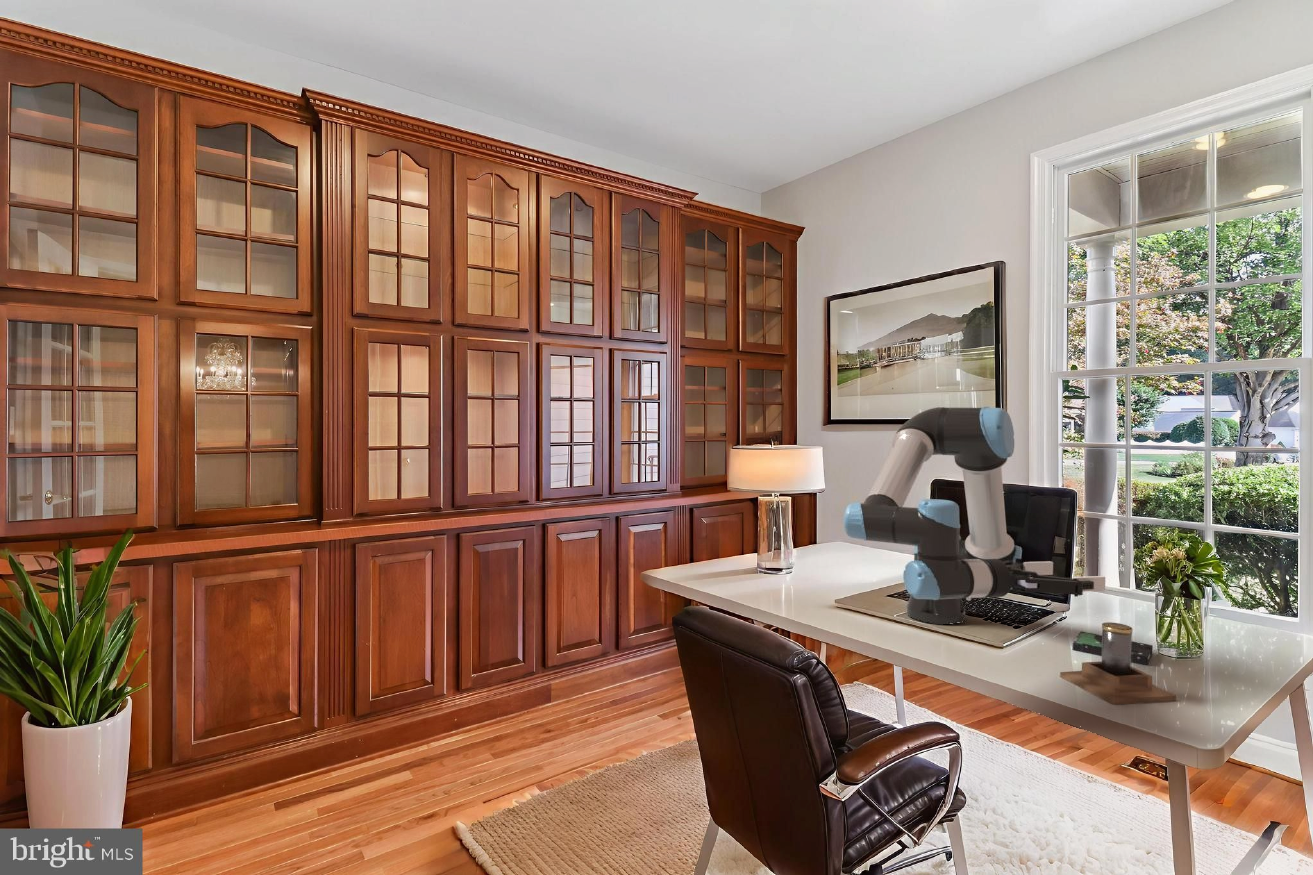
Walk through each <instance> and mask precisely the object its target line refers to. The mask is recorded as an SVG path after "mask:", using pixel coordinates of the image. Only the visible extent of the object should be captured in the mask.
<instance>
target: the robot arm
mask: <svg viewBox="0 0 1313 875" xmlns="http://www.w3.org/2000/svg"><path fill="white" fill-rule="evenodd" d="M1014 436H1015V432H1014V426H1013V422H1012V419H1011V416H1010V414H1009V412H1008V411H1007V410H1005V409H1004V408H1001V407H990V406H983V407H932V408H929V409H926V410H924V411H921V412H919V413H917V414H916V415H914V416H912V417H911V418H910V419H907V421H905V422H904V423H903V424H902V425H901V426H900V427H899V428H898V430H897V431H896V433H895V434H894V436H893V438H892V442H891V446H892V450H891V451H890V454H889V455H888V457H887V458H886V461H885V463H884V465H883V467H882V468H881V469H880V472H879V473H878V475H877V478H876V479H875V481H874V484H873V485H872V487H871V489H870V492H868V495H867V497H866V498H865V500H864V502H863V503H861V501H860V502H851V503H849V504H848V505H847V507H845V508H846V509H845V511H844V515H843V527H844V530H845V531H844V532H845V533H846V535H847V536H848V537H850V538H852V539H857V540H863V541H869V542H877V543H887V544H889V543H890V544H899V545H906V546H914V551H913V557H914V560H911V561H909V562H908V563H906V565H905V567H904V568H905V570H903V572H902V574H903V578H902V579H903V583H904V588H905V589H906V591H907V593H908V594H909V596H910V597H909V599H908V602H907V604H906V615H907V614H908V615H909V616H910V617H909V616H908V615H907V616H908V617H909V618H911V617H912V618H911V619H913V618H914V619H913V620H916V619H917V620H916V621H919V620H921V621H920V622H922V621H923V622H924V623H927V622H929V623H928V624H934V625H943V624H950V623H957V622H962V621H963V620H965V621H966V609H965V606H964V604H963V600H962V599H966V601H971V600H972V598H975V599H977V598H1002V597H1005V596H1006V595H1008V594H1009V593H1010V591H1011V590H1013V589H1014V590H1018V591H1019V590H1020V591H1021V590H1024V592H1027V593H1045V594H1046V593H1048V594H1060V595H1061V594H1062V595H1073V596H1074V597H1079V596H1083V595H1084V594H1083V593H1084V592H1105V591H1106V576H1105V575H1104V576H1103V575H1098V576H1097V575H1094V576H1072V578H1071V577H1062V576H1052V575H1054V562H1053V561H1050V560H1048V561H1047V560H1046V561H1025V562H1023V559H1022V553H1023V549H1022V547H1021V546H1018V545H1015V540H1014V539H1013V538H1012V537H1011V535H1009V534H1008V533H1007V522H1006V521H1007V520H1006V509H1005V498H1004V496H1005V495H1004V486H1003V485H1004V484H1003V473H1002V472H1003V471H1002V467H1003V466H1004V465H1005V464H1006V463H1007V461H1008V458H1010V457H1012V456H1013V454H1014V451H1015V437H1014ZM935 455H936V456H937V455H938V456H939V455H940V456H941V455H942V456H953V457H954V462H955V465H956V466H957V467H958V468H960V470H961V469H962V476H963V485H964V493H965V501H966V503H965V504H966V511H967V519H968V530H969V535H968V536H967V537H966V539H965V540H962V537H961V535H960V529H961V524H960V506H959V505H958V503H957V502H955V501H953V500H948V499H938V498H937V499H934V498H931V499H930V498H926V499H924V498H923V499H921V500H920V501H918V506H917V507H909V506H907V507H906V506H905V507H904V505H905V502H906V501H907V498H908V496H909V494H910V492H911V490H912V488H913V486H914V484H915V481H916V480H917V478H918V476H919V474H920V471H921V469H922V467H923V465H924V463H926V462H927V461H929V460H930V459H931V457H932V456H935ZM1031 576H1032V577H1031ZM962 623H963V622H962Z"/></svg>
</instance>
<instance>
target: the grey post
mask: <svg viewBox="0 0 1313 875" xmlns="http://www.w3.org/2000/svg"><path fill="white" fill-rule="evenodd" d="M1101 629H1102V633H1101V634H1102V635H1101V636H1102V656H1101V660H1100V661H1101V670H1103V671H1106V672H1108V673H1110V674H1112V675H1114V676H1125V675H1130V672H1131V667H1132V666H1131V665H1132V663H1131V643H1132V641H1133V639H1132V638H1133V627H1131V626H1130V625H1127V624H1125V623H1118V622H1109V621H1107V622H1102V623H1101Z"/></svg>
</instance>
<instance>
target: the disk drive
mask: <svg viewBox="0 0 1313 875" xmlns="http://www.w3.org/2000/svg"><path fill="white" fill-rule="evenodd" d="M1072 651H1076V652H1080V653H1084V654H1089V655H1094V656H1099V657H1102V635H1101V634H1095V633H1092V632H1086V631H1079V633H1078V634H1077V635H1076V637H1075V638H1074V640H1073V642H1072ZM1152 655H1153V644H1147V643H1144V642H1137V641H1133V640H1132V643H1131V664H1137V665H1142V666H1149V662H1150V660H1151V658H1152Z"/></svg>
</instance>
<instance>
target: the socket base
mask: <svg viewBox="0 0 1313 875" xmlns="http://www.w3.org/2000/svg"><path fill="white" fill-rule="evenodd" d="M1059 673H1060V674H1059V677H1061V678H1062V679H1064V680H1066V681H1067V682H1070V683H1072V684H1073V685H1075V686H1077V687H1079V688H1081V689H1083V690H1084V691H1087V692H1088V693H1090V694H1092V695H1094V696H1097V697H1098V698H1100V699H1102V700H1104V701H1106V702H1107V703H1110V704H1111V705H1113V706H1115V705H1128V704H1130V705H1131V704H1145V703H1157V702H1159V703H1160V702H1172V701H1176V700H1177V695H1176V694H1174V693H1172V692H1169V691H1167V690H1165V689H1162V688H1160V687H1158V686H1156V685H1154V684H1153V675H1150V674H1148V673H1146V672H1144V671H1142V670H1139V669H1137V668H1135V667H1133V666H1131V672H1130V675H1125V676H1114V675H1112V674H1110V673H1108V672H1106V671H1103V670H1101V660H1100V661H1087V662H1086V661H1085V662H1081V670H1073V671H1071V670H1070V671H1060V672H1059Z"/></svg>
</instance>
